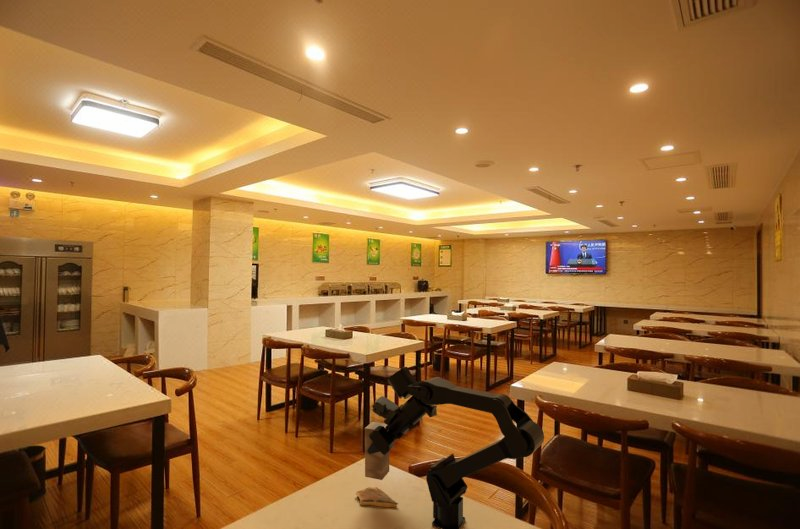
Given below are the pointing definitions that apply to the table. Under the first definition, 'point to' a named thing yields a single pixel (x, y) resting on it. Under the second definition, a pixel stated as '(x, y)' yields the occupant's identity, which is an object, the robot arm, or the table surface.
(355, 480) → the table surface
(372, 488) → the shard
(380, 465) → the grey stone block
